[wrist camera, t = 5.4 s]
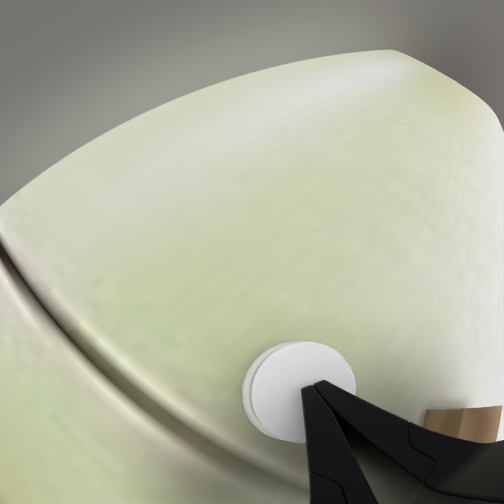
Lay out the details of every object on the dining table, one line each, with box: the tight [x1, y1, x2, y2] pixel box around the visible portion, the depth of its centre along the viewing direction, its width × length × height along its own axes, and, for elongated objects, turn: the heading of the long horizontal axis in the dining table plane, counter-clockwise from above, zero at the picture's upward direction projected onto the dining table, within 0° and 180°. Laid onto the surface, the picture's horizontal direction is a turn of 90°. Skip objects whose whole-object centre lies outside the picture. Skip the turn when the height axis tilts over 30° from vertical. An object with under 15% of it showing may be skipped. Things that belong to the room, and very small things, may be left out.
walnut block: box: [424, 406, 502, 443], centre depth 12 cm, size 4×4×4 cm
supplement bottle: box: [242, 341, 356, 443], centre depth 13 cm, size 5×5×8 cm
